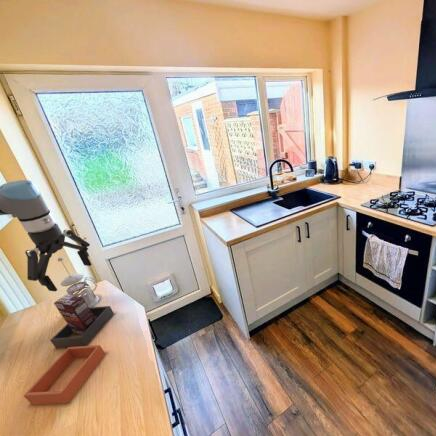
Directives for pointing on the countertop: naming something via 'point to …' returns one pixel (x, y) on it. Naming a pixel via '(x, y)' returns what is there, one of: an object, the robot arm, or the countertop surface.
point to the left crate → (43, 383)
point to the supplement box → (75, 313)
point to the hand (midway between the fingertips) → (71, 276)
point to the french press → (80, 287)
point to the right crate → (65, 340)
